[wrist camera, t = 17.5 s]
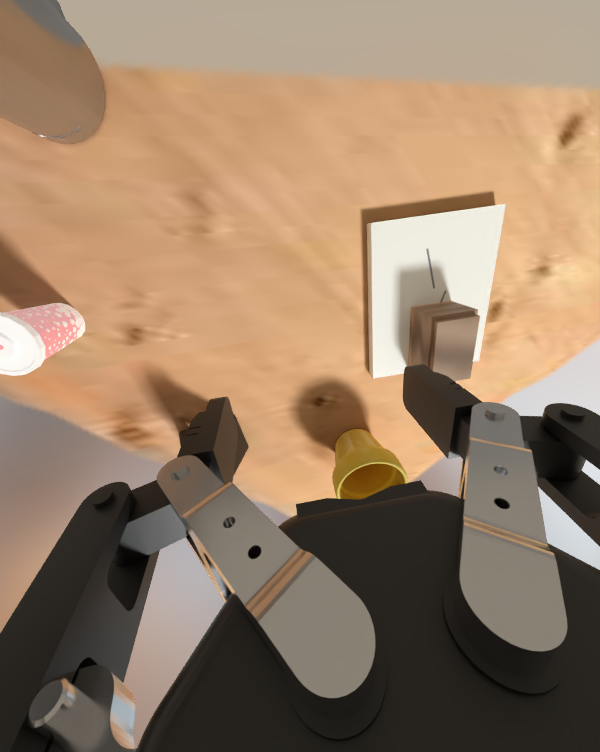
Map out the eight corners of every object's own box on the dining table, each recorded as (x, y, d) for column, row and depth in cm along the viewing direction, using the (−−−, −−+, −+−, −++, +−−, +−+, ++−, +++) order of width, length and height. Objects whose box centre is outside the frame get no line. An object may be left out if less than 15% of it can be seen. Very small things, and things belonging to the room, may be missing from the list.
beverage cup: (72, 289, 33) (-47, 319, 20) (102, 337, 36) (13, 390, 23) (23, 304, 33) (-126, 343, 20) (56, 351, 36) (-57, 410, 23)
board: (366, 223, 33) (371, 222, 32) (495, 205, 34) (505, 203, 33) (369, 373, 42) (373, 378, 41) (471, 356, 43) (478, 361, 41)
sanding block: (410, 307, 37) (435, 318, 31) (451, 300, 37) (482, 311, 32) (407, 369, 41) (429, 388, 35) (444, 362, 41) (471, 381, 36)
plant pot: (317, 465, 49) (328, 514, 40) (331, 416, 45) (347, 458, 36) (372, 469, 51) (394, 517, 42) (391, 422, 47) (420, 464, 38)
